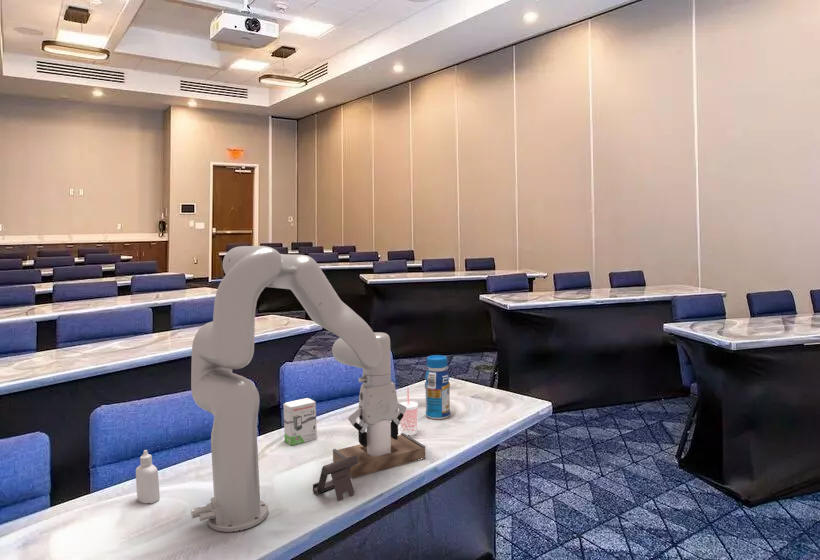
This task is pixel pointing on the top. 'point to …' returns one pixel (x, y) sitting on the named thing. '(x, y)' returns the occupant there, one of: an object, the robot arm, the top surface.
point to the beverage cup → (409, 417)
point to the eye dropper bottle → (147, 480)
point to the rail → (400, 454)
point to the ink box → (300, 421)
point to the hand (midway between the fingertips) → (378, 441)
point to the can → (379, 438)
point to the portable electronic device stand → (337, 477)
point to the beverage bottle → (437, 388)
